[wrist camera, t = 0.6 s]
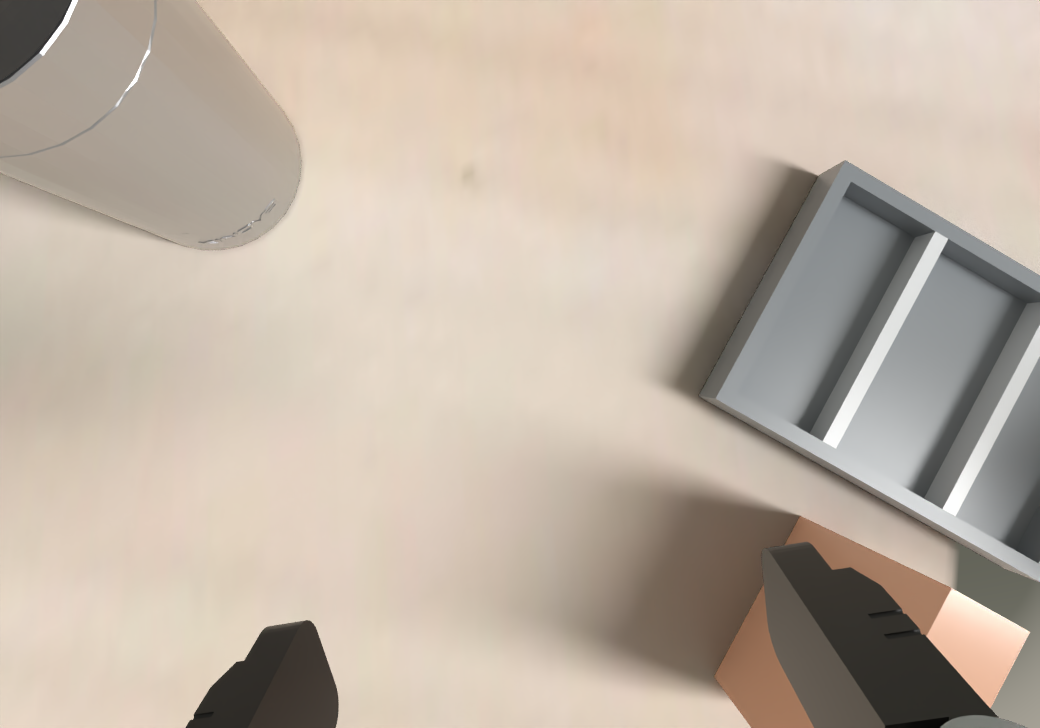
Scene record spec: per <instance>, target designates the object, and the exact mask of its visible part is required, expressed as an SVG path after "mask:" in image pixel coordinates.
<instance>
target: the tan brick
mask: <svg viewBox="0 0 1040 728" xmlns="http://www.w3.org/2000/svg"><path fill="white" fill-rule="evenodd" d="M801 542H809V543H811V544H812V545H813V546H814V547H815V549H816V550H817V551H818V552H819V554H820V555H821V556H822V557H823V559H824V560H825V561H826V562H827V564H828V565H829V566H830V568H831V569H832V570H835V569H842V568H848V567H851V568H853V569H854V570H856V571H858V572H859V573H861V574H863V575H865V576H866V577H868V578H870V579H871V580H873V581H875V582H876V583H878V584H880V585H881V586H882V587H883V588H884V589H885V590H886V591H887V593H888V594H889V595H890V596H891V597H892V598H893V599H894V600H895V602H896V603H897V604H898V605H899V606H900V607H901V608H902V611H903V613H904V614H907V615H908V616H909V617H910V618H911V620H912V621H913V622H914V623H915V624H916V625H917V626H918V627H919V629H920V632H921V634H922V635H923V634H925V635H926V636H927V638H928V639H929V640H930V641H931V642H932V643H933V644H934V646H935V647H936V648H937V649H938V650H939V651H940V652H941V653H942V655H943V656H944V657H945V658H946V659H947V660H948V661H949V662H950V664H951V665H952V666H953V667H954V668H955V669H956V670H957V671H958V673H959V674H960V675H961V676H962V677H963V678H964V679H965V680H966V682H967V683H968V684H969V685H970V686H971V687H972V688H973V690H974V691H975V692H976V693H977V694H978V695H979V696H980V697H981V699H982V700H983V701H984V702H985V703H986V704H987V705H988V706H989V708H991V706H992V704H993V702H994V700H995V698H996V696H997V694H998V693H999V690H1000V689H1001V687H1002V685H1003V683H1004V681H1005V679H1006V677H1007V675H1008V673H1009V671H1010V669H1011V667H1012V666H1013V664H1014V662H1015V660H1016V658H1017V656H1018V654H1019V652H1020V650H1021V648H1022V646H1023V644H1024V642H1025V640H1026V639H1027V637H1028V635H1029V633H1030V632H1029V631H1027V630H1025V629H1024V628H1022V627H1020V626H1018V625H1016V624H1015V623H1013V622H1011V621H1009V620H1008V619H1006V618H1004V617H1002V616H1000V615H999V614H997V613H995V612H993V611H992V610H990V609H988V608H986V607H984V606H983V605H981V604H979V603H977V602H975V601H974V600H972V599H970V598H968V597H966V596H965V595H963V594H961V593H959V592H958V591H956V590H954V589H952V588H950V587H948V586H946V585H944V584H942V583H940V582H938V581H936V580H933V579H931V578H929V577H927V576H925V575H923V574H921V573H919V572H917V571H915V570H912V569H910V568H908V567H906V566H904V565H902V564H900V563H898V562H896V561H894V560H891V559H889V558H887V557H885V556H883V555H881V554H879V553H877V552H875V551H873V550H871V549H868V548H866V547H864V546H862V545H860V544H858V543H856V542H854V541H852V540H850V539H847V538H845V537H843V536H841V535H839V534H837V533H835V532H833V531H831V530H829V529H826V528H824V527H822V526H820V525H818V524H816V523H814V522H812V521H810V520H808V519H805V518H803V517H801V516H800V517H799V519H798V521H797V523H796V524H795V526H794V528H793V530H792V532H791V534H790V536H789V537H788V539H787V541H786V543H785V545H789V544H795V543H801ZM714 677H715V679H716V680H717V681H718V683H719V684H720V685H721V687H722V688H723V689H724V691H725V692H726V694H727V695H728V696H729V698H730V699H731V700H732V702H733V703H734V704H735V706H736V707H737V709H738V710H739V711H740V713H741V714H742V715H743V717H744V718H745V719H746V721H747V722H748V723H749V725H750V726H751V728H814V727H813V725H812V723H811V721H810V719H809V717H808V715H807V713H806V712H805V710H804V708H803V706H802V704H801V702H800V700H799V698H798V697H797V695H796V693H795V691H794V689H793V687H792V685H791V683H790V681H789V680H788V678H787V676H786V674H785V672H784V670H783V668H782V666H781V664H780V662H779V660H778V658H777V656H776V653H775V650H774V648H773V644H772V641H771V638H770V634H769V629H768V623H767V613H766V602H765V592H764V584H763V586H762V588H761V590H760V592H759V593H758V595H757V597H756V599H755V601H754V603H753V605H752V607H751V608H750V610H749V612H748V614H747V616H746V618H745V620H744V621H743V623H742V625H741V627H740V629H739V631H738V633H737V635H736V636H735V638H734V640H733V642H732V644H731V646H730V648H729V649H728V651H727V653H726V655H725V657H724V659H723V661H722V663H721V664H720V666H719V668H718V670H717V672H716V674H715V676H714Z"/></svg>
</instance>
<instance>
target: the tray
mask: <svg viewBox="0 0 1040 728" xmlns="http://www.w3.org/2000/svg"><path fill="white" fill-rule="evenodd" d="M699 397H701V398H702V399H704V400H706V401H708V402H709V403H711V404H713V405H715V406H717V407H718V408H720V409H722V410H724V411H725V412H727V413H729V414H731V415H733V416H734V417H736V418H738V419H740V420H741V421H743V422H745V423H747V424H748V425H750V426H752V427H754V428H756V429H757V430H759V431H761V432H763V433H764V434H766V435H768V436H770V437H772V438H773V439H775V440H777V441H779V442H780V443H782V444H784V445H786V446H787V447H789V448H791V449H793V450H795V451H796V452H798V453H800V454H802V455H803V456H805V457H807V458H809V459H811V460H812V461H814V462H816V463H818V464H819V465H821V466H823V467H825V468H826V469H828V470H830V471H832V472H834V473H835V474H837V475H839V476H841V477H842V478H844V479H846V480H848V481H850V482H851V483H853V484H855V485H857V486H858V487H860V488H862V489H864V490H865V491H867V492H869V493H871V494H873V495H874V496H876V497H878V498H880V499H881V500H883V501H885V502H887V503H889V504H890V505H892V506H894V507H896V508H897V509H899V510H901V511H903V512H904V513H906V514H908V515H910V516H912V517H913V518H915V519H917V520H919V521H920V522H922V523H924V524H926V525H928V526H929V527H931V528H933V529H935V530H936V531H938V532H940V533H942V534H943V535H945V536H947V537H949V538H951V539H952V540H954V541H956V542H958V543H959V544H961V545H963V546H965V547H967V548H968V549H970V550H972V551H974V552H975V553H977V554H979V555H981V556H983V557H984V558H986V559H988V560H990V561H991V562H993V563H995V564H997V565H998V566H1000V567H1002V568H1004V569H1007V570H1009V571H1012V572H1014V573H1017V574H1019V575H1022V576H1024V577H1027V578H1030V579H1032V580H1035V581H1038V582H1040V275H1038V274H1036V273H1035V272H1033V271H1031V270H1030V269H1028V268H1026V267H1025V266H1023V265H1021V264H1019V263H1018V262H1016V261H1014V260H1013V259H1011V258H1009V257H1008V256H1006V255H1004V254H1003V253H1001V252H999V251H998V250H996V249H994V248H993V247H991V246H989V245H987V244H986V243H984V242H982V241H981V240H979V239H977V238H976V237H974V236H972V235H971V234H969V233H967V232H966V231H964V230H962V229H960V228H959V227H957V226H955V225H954V224H952V223H950V222H949V221H947V220H945V219H944V218H942V217H940V216H939V215H937V214H935V213H933V212H932V211H930V210H928V209H927V208H925V207H923V206H922V205H920V204H918V203H917V202H915V201H913V200H912V199H910V198H908V197H906V196H905V195H903V194H901V193H900V192H898V191H896V190H895V189H893V188H891V187H890V186H888V185H886V184H885V183H883V182H881V181H880V180H878V179H876V178H874V177H873V176H871V175H869V174H868V173H866V172H864V171H863V170H861V169H859V168H858V167H856V166H854V165H853V164H851V163H849V162H847V161H846V160H845V161H843V162H841V163H840V164H838V165H836V166H834V167H833V168H831V169H829V170H827V171H826V172H824V173H822V174H820V175H819V176H818V178H817V180H816V181H815V183H814V185H813V187H812V189H811V191H810V192H809V194H808V196H807V198H806V200H805V202H804V203H803V205H802V207H801V209H800V211H799V213H798V214H797V216H796V218H795V220H794V222H793V224H792V225H791V227H790V229H789V231H788V233H787V235H786V236H785V238H784V240H783V242H782V244H781V246H780V247H779V249H778V251H777V253H776V255H775V257H774V258H773V260H772V262H771V264H770V266H769V268H768V269H767V271H766V273H765V275H764V277H763V279H762V280H761V282H760V284H759V286H758V288H757V290H756V291H755V293H754V295H753V297H752V299H751V301H750V302H749V304H748V306H747V308H746V310H745V312H744V313H743V315H742V317H741V319H740V321H739V323H738V325H737V326H736V328H735V330H734V332H733V334H732V336H731V337H730V339H729V341H728V343H727V345H726V347H725V348H724V350H723V352H722V354H721V356H720V358H719V359H718V361H717V363H716V365H715V367H714V369H713V370H712V372H711V374H710V376H709V378H708V380H707V381H706V383H705V385H704V387H703V389H702V391H701V392H700V394H699Z"/></svg>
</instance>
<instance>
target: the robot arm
mask: <svg viewBox="0 0 1040 728" xmlns="http://www.w3.org/2000/svg"><path fill="white" fill-rule="evenodd" d="M0 173H2V174H4V175H7V176H9V177H12V178H14V179H17V180H19V181H22V182H24V183H27V184H29V185H32V186H34V187H37V188H39V189H42V190H44V191H47V192H49V193H52V194H54V195H57V196H59V197H62V198H64V199H67V200H69V201H72V202H74V203H77V204H79V205H82V206H84V207H87V208H90V209H92V210H95V211H97V212H100V213H102V214H105V215H107V216H110V217H112V218H115V219H117V220H120V221H122V222H125V223H127V224H130V225H132V226H134V227H137V228H140V229H142V230H145V231H147V232H150V233H153V234H155V235H158V236H160V237H163V238H165V239H168V240H170V241H173V242H175V243H178V244H180V245H183V246H186V247H191V248H196V249H200V250H224V249H229V248H234V247H239V246H242V245H244V244H247V243H249V242H251V241H253V240H256V239H258V238H259V237H261V236H262V235H263V234H265V233H266V232H268V231H269V230H270V229H272V228H273V227H274V226H275V225H276V224H277V223H278V221H279V220H280V219H281V218H282V217H283V216H284V215H285V214H286V212H287V210H288V208H289V206H290V205H291V203H292V201H293V199H294V198H295V194H296V191H297V188H298V185H299V182H300V173H301V155H300V147H299V142H298V139H297V137H296V134H295V131H294V128H293V126H292V124H291V122H290V121H289V119H288V118H287V116H286V114H285V113H284V111H283V110H282V108H281V107H280V106H279V105H278V103H277V102H276V101H275V100H274V98H273V97H272V96H271V95H270V93H269V92H268V91H267V90H266V88H265V87H264V86H263V85H262V83H261V82H260V81H259V79H258V78H257V77H256V75H255V74H254V73H253V71H252V70H251V69H250V68H249V66H248V65H247V64H246V63H245V61H244V60H243V59H242V58H241V56H240V55H239V54H238V53H237V51H236V50H235V49H234V48H233V46H232V45H231V44H230V43H229V41H228V40H227V39H226V38H225V36H224V35H223V34H222V32H221V31H220V30H219V29H218V27H217V26H216V25H215V24H214V22H213V21H212V20H211V19H210V17H209V16H208V15H207V14H206V12H205V11H204V10H203V9H202V7H201V6H200V5H199V4H198V2H197V1H196V0H0ZM761 558H762V570H763V581H764V592H765V602H766V613H767V623H768V629H769V634H770V638H771V641H772V644H773V648H774V650H775V653H776V656H777V658H778V660H779V662H780V664H781V666H782V668H783V670H784V672H785V674H786V676H787V678H788V680H789V681H790V683H791V685H792V687H793V689H794V691H795V693H796V695H797V697H798V698H799V700H800V702H801V704H802V706H803V708H804V710H805V712H806V713H807V715H808V717H809V719H810V721H811V723H812V725H813V727H814V728H1027V727H1025V726H1023V725H1020V724H1017V723H1014V722H1012V721H1009V720H1005V719H1001V718H999V717H998V716H997V715H995V713H994V712H993V711H992V710H991V709H990V708H989V706H988V705H987V704H986V703H985V702H984V701H983V700H982V699H981V697H980V696H979V695H978V694H977V693H976V692H975V691H974V690H973V688H972V687H971V686H970V685H969V684H968V683H967V682H966V680H965V679H964V678H963V677H962V676H961V675H960V674H959V673H958V671H957V670H956V669H955V668H954V667H953V666H952V665H951V664H950V662H949V661H948V660H947V659H946V658H945V657H944V656H943V655H942V653H941V652H940V651H939V650H938V649H937V648H936V647H935V646H934V644H933V643H932V642H931V641H930V640H929V639H928V638H927V636H926V635H925V634H923V635H922V634H921V632H920V629H919V627H918V626H917V625H916V624H915V623H914V622H913V621H912V620H911V618H910V617H909V616H908V615H907V614H904V613H903V611H902V608H901V607H900V606H899V605H898V604H897V603H896V602H895V600H894V599H893V598H892V597H891V596H890V595H889V594H888V593H887V591H886V590H885V589H884V588H883V587H882V586H881V585H880V584H878V583H876V582H875V581H873V580H871V579H870V578H868V577H866V576H865V575H863V574H861V573H859V572H858V571H856V570H854V569H853V568H851V567H848V568H842V569H835V570H832V569H831V568H830V566H829V565H828V564H827V562H826V561H825V560H824V559H823V557H822V556H821V555H820V554H819V552H818V551H817V550H816V549H815V547H814V546H813V545H812V544H811V543H809V542H801V543H795V544H789V545H783V546H776V547H770V548H764V549H763V550H762V557H761ZM337 718H338V693H337V688H336V684H335V682H334V679H333V676H332V673H331V670H330V667H329V664H328V661H327V658H326V656H325V653H324V650H323V647H322V644H321V641H320V638H319V635H318V632H317V630H316V627H315V626H314V624H313V623H312V622H311V621H308V620H306V621H300V622H294V623H288V624H281V625H275V626H269V627H266V628H265V629H264V630H263V631H262V632H261V633H260V635H259V637H258V638H257V640H256V642H255V644H254V645H253V647H252V649H251V650H250V652H249V654H248V655H247V657H246V659H245V661H240V662H236V663H235V664H234V665H233V666H232V667H231V668H230V669H229V670H228V671H227V672H226V673H225V674H224V675H223V676H222V677H221V678H220V679H219V680H218V681H217V682H216V683H215V684H214V685H213V686H212V687H211V688H210V689H209V691H208V693H207V694H206V696H205V697H204V699H203V701H202V702H201V704H200V705H199V707H198V709H197V710H196V712H195V713H194V719H193V720H190V721H189V723H188V725H187V726H186V728H335V727H336V724H337Z"/></svg>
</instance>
